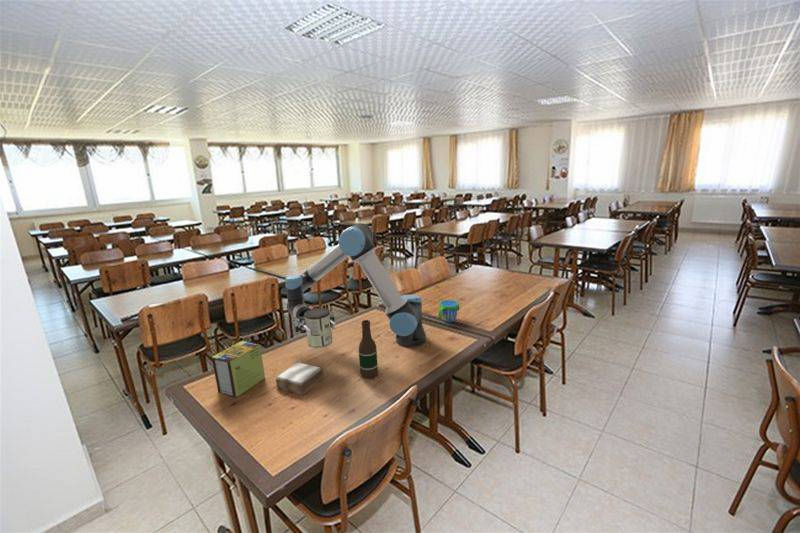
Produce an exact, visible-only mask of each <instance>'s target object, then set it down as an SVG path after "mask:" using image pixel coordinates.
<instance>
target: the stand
mask: <svg viewBox="0 0 800 533" xmlns="http://www.w3.org/2000/svg"><path fill="white" fill-rule="evenodd" d="M323 371H324V370H323V369H322V368H321V367H320V366H315V365H310V364H306V363H301V362H296V363H295V364H293V365H292V366H290V367H288V368H287V369H286V370H284V371H283V372H282V373H280V374H279V375H278V376H277V378H275V382H276V389H279V390H282V391H285V392H290V393H292V394H296V395H297V394H298V395H301V396H304V395H305V394H306V393H307V392H309V391H310V390H311V389H312V388H313V387H315V386H316V385H317V384H318V383H320V382H321V381H322V380H323V379H324V372H323Z"/></svg>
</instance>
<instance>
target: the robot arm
mask: <svg viewBox="0 0 800 533" xmlns="http://www.w3.org/2000/svg"><path fill="white" fill-rule="evenodd" d="M373 240H374V232H373V229H372V228H371V227H370V226H369V225H368V224H366V223H361V222H359V223H356V224H354V225H353V224H352V225H351V226H348V227H347V228H346V229H344V230H343V231H342V232H341V233H340V235H339V238H338V244H337V245H336V246H334V247H333V248H332V249H331V250H330V251H328V252H327V253H325V254H324V256H323V257H320V259H319V260H318V261H316V262H315V263H314V264H313V265H311V266H310V267H309V268H308V269H307V270H305V271H304V272H303V273H301V274H300V275H299V274H293V275H288V276H286V277H285V291H286V298H287V299H286V300H287V302H286V305H285V308H286V310H287V312H288V313H289V314H290V315H291V316H292V317H294V318H293V319H292V323H293V326H294V329H295V330H294V331H295V333H298V332H300V334H306V336H307V335H308V336H309V337H311V330H310V329H309V328H307V327H306V321H305V315H304V313H305V312H306V311H308V310H310V309H311V308H310V307H309V306H308V305H306V304H305V296H304V295H305V294H304V292H305V291H306V290H308V289H309V288H310V287H311V288H312V286H314V285H315V284H316V283H317V282H318V281H319V280H321V279H322V278H324V276H326V275H328V274H329V273H330V271H332V270H333V269H335V268H336V267H337V266H339V265H340V264H341V263H342V262H344V260H346V259H347V258H349V257H350V259H351V261H352V262H354V263H357V264H358V265H359V267H360V268H361V270H362V272H363V273H364V275H365V276H366V278H367V280H368V281H369V283H370V284H371V286H372V287H373V289H374V291H375V292H376V294H377V295H378V297H379V299H380V301H381V302H382V304H383V306H384V307H385V312H384V313H385V315H386V316H387V318H388V320H389V328H390V330H391V331H392V333H394V334H395V341H396V343H397V344H398V345H399V346H403V347H407V348H409V347H418V346H421V345H423V344H425V343H426V342H427V334H426V331H425V328H424V326H423V307H422V306H423V305H422V304H423V301H422V297H421V296H420V295H418V294H403V295H401V293H400V292H399V290H398V288H397V287H396V285H395V284H394V282H393V280H392V279H391V277H390V275H389V274H388V272H387V271H386V269H385V267H384V266H383V264H382V263H381V261H380V259H379V257H378V256H377V254H376V252H375V251H376V246H375V245H374V243H373ZM330 322H331V330H334V331H335V330H337V327H336V321H335V316H333V315H331V314H330ZM299 323H300V324H299Z"/></svg>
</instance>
